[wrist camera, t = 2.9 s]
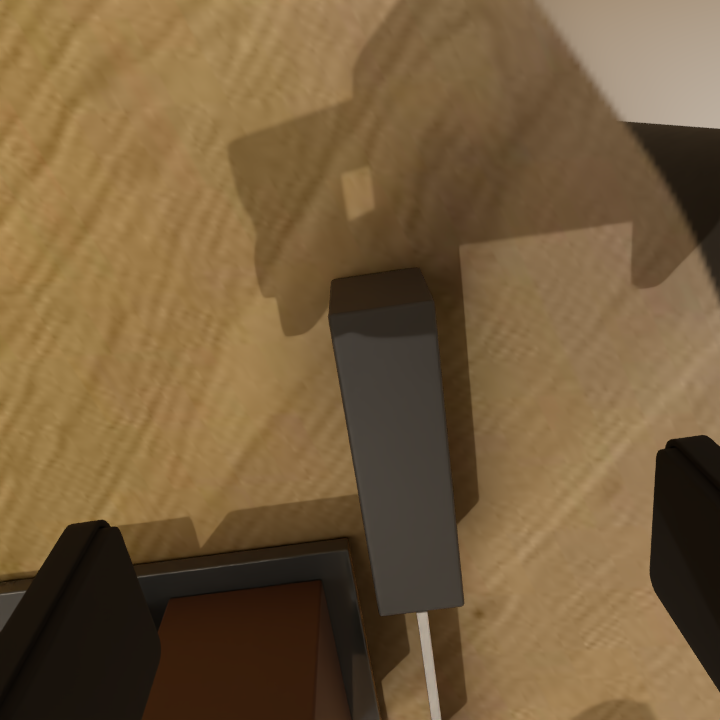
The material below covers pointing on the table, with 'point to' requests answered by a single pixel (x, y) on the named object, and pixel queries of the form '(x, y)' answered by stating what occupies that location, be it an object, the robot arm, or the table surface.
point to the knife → (399, 444)
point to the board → (264, 570)
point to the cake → (249, 657)
